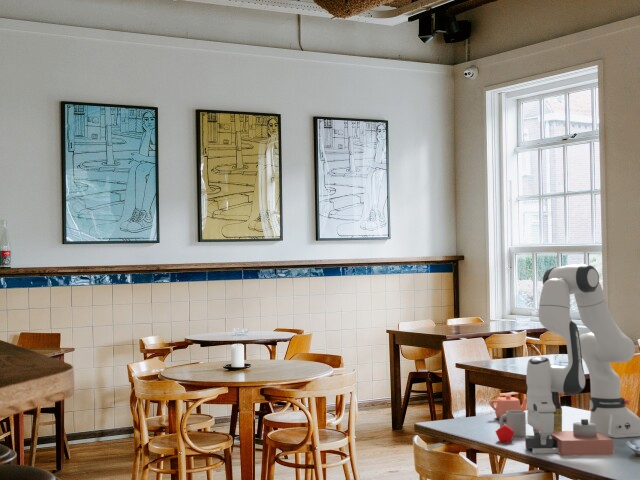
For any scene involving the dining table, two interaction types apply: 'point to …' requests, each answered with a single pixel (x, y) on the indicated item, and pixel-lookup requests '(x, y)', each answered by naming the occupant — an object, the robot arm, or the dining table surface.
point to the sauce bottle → (557, 412)
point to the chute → (537, 441)
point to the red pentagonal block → (505, 434)
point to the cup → (515, 422)
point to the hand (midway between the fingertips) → (540, 442)
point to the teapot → (507, 405)
